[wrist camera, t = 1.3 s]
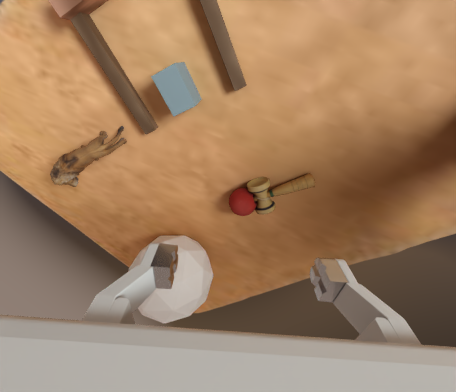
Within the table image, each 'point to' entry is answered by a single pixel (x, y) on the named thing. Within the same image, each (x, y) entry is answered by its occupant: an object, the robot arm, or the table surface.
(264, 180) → the kendama
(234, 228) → the table surface
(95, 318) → the robot arm
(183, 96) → the block
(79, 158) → the lion figurine
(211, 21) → the stop channel
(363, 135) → the table surface
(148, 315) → the geometric polyhedron
